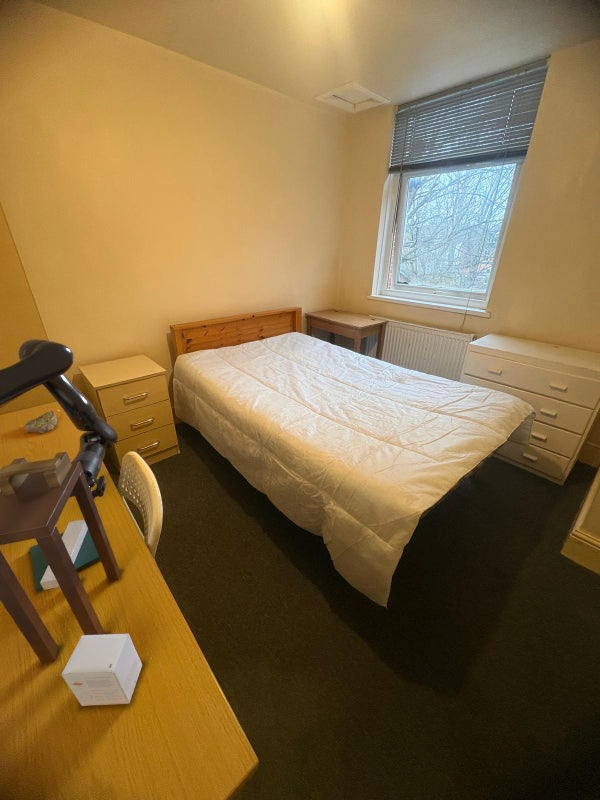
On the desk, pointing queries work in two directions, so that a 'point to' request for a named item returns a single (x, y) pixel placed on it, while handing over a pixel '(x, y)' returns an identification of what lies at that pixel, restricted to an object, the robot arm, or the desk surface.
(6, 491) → the stand
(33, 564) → the board
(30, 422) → the rock
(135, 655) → the small box
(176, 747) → the desk surface
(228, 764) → the desk surface
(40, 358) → the robot arm
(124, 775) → the desk surface
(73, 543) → the stone bar
